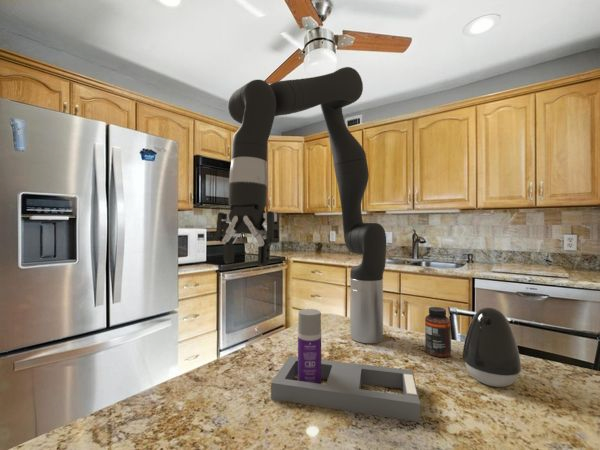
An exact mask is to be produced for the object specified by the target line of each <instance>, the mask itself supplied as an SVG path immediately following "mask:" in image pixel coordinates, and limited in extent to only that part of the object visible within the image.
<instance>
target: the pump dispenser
mask: <svg viewBox="0 0 600 450" xmlns="http://www.w3.org/2000/svg"><path fill="white" fill-rule="evenodd" d="M464 339H465V340H464V343H463V349H462V350H463V351H462V360H463V362H464V363H465V364H464V365H465V366H466V370H467V371H468V374H470V375H471V376H472V377H473V378H474V379H475V380H477V382H480V383H482V384H484V385H487V386H490V387H495V388H496V387H497V388H503V387H509V386H510V385H513V384H514V383H515V382H516V381H517V379H518V376H519V374H520V373H521V372H522V371H521V370H522V364H521V363H522V362H521V358H520V352H519V351H520V350H519V348H518V344H517V341H516V336H515V334H514V331H513V329H512V327H511V325H510V323H509V320H508V318H507V317H506V316H505V315H504V313H503V312H502V311H500V310H498V309H497V308H494V307H491V306H490V307H489V306H487V307H482V308H480V309H479V310H478V311H477V312H475V314H474V316H472V319H471V320H470V323H469V326H468V328H467V331H466V334H465V338H464Z"/></svg>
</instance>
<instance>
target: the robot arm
mask: <svg viewBox="0 0 600 450" xmlns="http://www.w3.org/2000/svg"><path fill="white" fill-rule="evenodd" d="M363 85H364V84H363V80H362V76H361V75H360V73H359V72H358V71H357V70H356V69H355V68H353V67H350V66H345V67H341V68H339V69H337V70H335V71H334V72H331V73H327V74H323V75H322V74H321V75H318V76H312V77H305V78H297V79H296V78H295V79H286V80H278V81H274V82H272V83H270V84H269V83H268V82H267V81H265V80H263V79H253V80H251V81H249V82H247V83H245V84H244V85H242V86H240V87H239V88H238V89H236V90H234V92H232V93H231V94H230V95H229V98H228V101H227V111H228V113H229V115H230V117H231V118H232V119H233V120H234V121H235V122H237V123H239V124H241V125H240V127H239V128H238V129H237V130H236V131H235V133H234V134H233V137H232V143H231V145H232V146H231V162H230V168H229V178H228V179H229V182H228V185H229V187H228V206H229V207H230V211H229V213H228V212H221V211H220V212H218V214H217V217H216V218H217V220H216V232H215V241H217V242H220V243H222V245H223V255H222V258H223V262H224V263H225V264H233V263H234V262H235V251H236V250H235V247H236V246H235V244H234V243H235V242H236V241H237V240H238V238H239V237H241V236H242V234H245V235H247V234H248V235H249V234H250V235H252V236H253V238H255V239H256V241H257V243H258V244H259V246H258V250H257V251H258V252H257V265H258V267H267V266H268V264H269V262H270V255H271V246H272V245H275V244H279V242H280V213H279V212H277V211H267V212H266V210H265V208H266V207H267V203H268V202H267V200H268V196H267V195H268V163H267V162H268V141H269V138H270V135H271V131H272V128H273V124H274V121H275V117H279V116H280V117H281V116H286V115H291V114H296V113H300V112H303V111H306V110H310V109H312V108H315V107H317V106H320V108H321V109H320V110H321V113H322V116H323V120H324V122H325V127H326V131H327V134H328V139H329V144H330V149H331V155H332V161H333V168H334V173H335V178H336V184H337V187H338V193H339V194H338V195H339V201H340V207H341V217H342V218H341V219H342V231H343V240H344V243H345V246H346V248H347V250H348V251H349V252H350V253H352V254H356V255H362V259H361V263H360V264H358V265H356V266H355V265H354V266H352V267H351V268H350V276H349V277H350V281H349V282H350V288H349V289H350V293H349V294H350V296H349V297H350V298H349V299H350V305H349V306H350V308H349V309H350V313H349V314H350V315H349V316H350V317H349V318H350V321H349V325H350V332H349V333H350V338H351V339H352V340H353V341H355V342H358V343H363V344H377V343H380V342H382V341H383V340H384V272H385V269H386V255H387V235H386V231H385V227H383V225H381V224H380V223H378V222H364V221H363V216H362V215H363V214H362V200H363V197H364V194H365V191H366V189H367V186H368V183H369V179H370V178H369V175H370V174H369V173H370V172H369V167H368V161H367V155H366V154H367V153H366V152H365V149H364V148H363V146H362V145H361V143H360V142H359V141H358V140H357V139H356V137H355V136H353V134H352V133H351V131H350V130H349V129H348V127H347V124H346V123H345V118H344V115H343V114H344V113H343V108H345V107H347V106H349V105H352V104H354V103H356V102H357V101H358V100H359V99H360V98H361V96H362V95H363V92H364V91H363V89H364V86H363ZM264 223H266V227H265V225H264Z"/></svg>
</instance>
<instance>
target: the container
mask: <svg viewBox="0 0 600 450" xmlns="http://www.w3.org/2000/svg"><path fill="white" fill-rule="evenodd" d="M321 312H322V311H321V310H319V309H314V308H303V309H300V310H299V311H298V324H297V325H298V326H297V357H298V375H297V381H304V382H311V383H318V384H322V378H321V360H322V321H321V320H322V316H321V315H322V314H321Z"/></svg>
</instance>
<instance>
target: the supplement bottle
mask: <svg viewBox="0 0 600 450" xmlns="http://www.w3.org/2000/svg"><path fill="white" fill-rule="evenodd" d="M451 331H452V329H451V320H450V318H449V317H447V310H446V308H444V307H441V306H430V307H429V308H428V315H426V316H425V318H424V333H425V336H424V337H425V338H424V339H425V341H424V342H425V346H424V347H425V351H426V352H427V354H428V355H431V356H432V357H433V356H434V357H437V358H447V357H449V356H451V354H452V336H451V335H452V332H451Z"/></svg>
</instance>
